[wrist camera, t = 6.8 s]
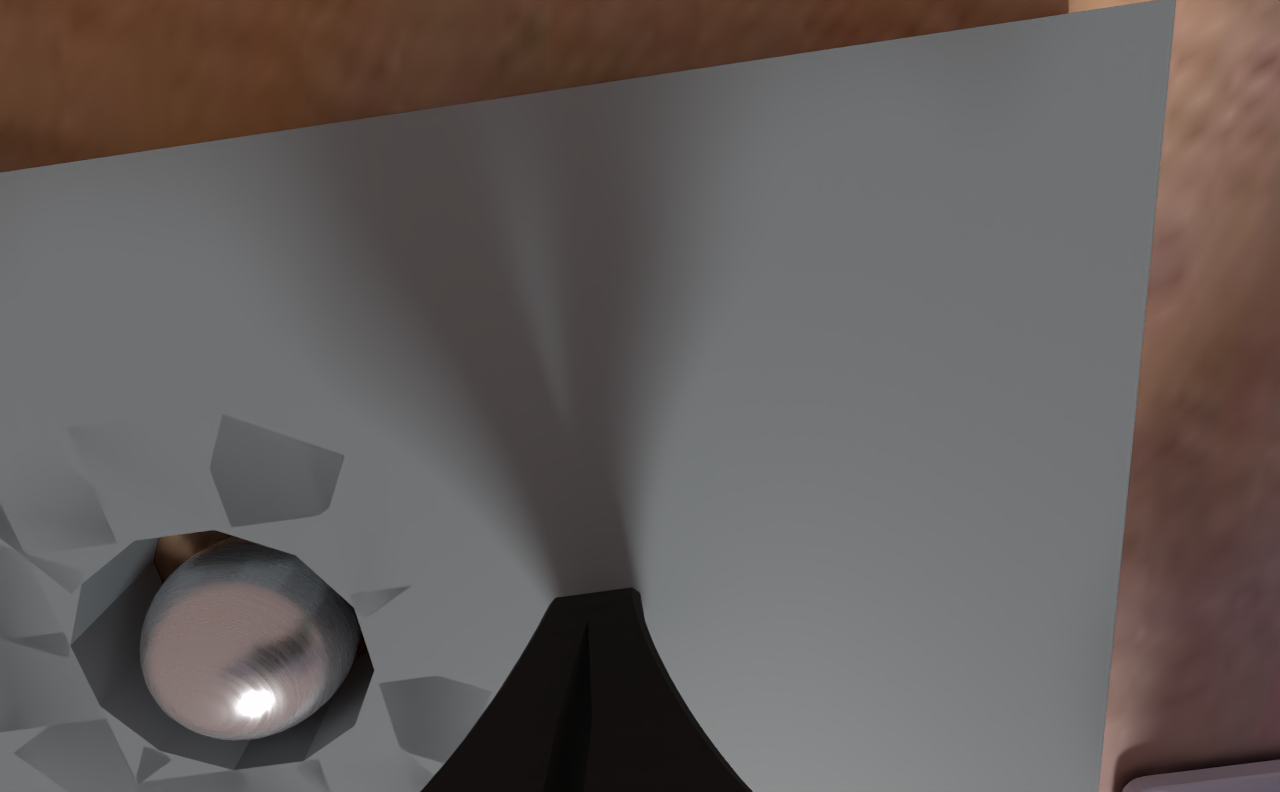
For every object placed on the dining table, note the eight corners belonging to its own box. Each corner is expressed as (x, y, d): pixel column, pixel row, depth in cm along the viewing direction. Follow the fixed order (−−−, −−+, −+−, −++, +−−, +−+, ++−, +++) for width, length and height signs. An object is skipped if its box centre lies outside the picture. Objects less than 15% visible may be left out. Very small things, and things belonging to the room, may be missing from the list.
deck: (1070, 15, 12) (1175, -3, 10) (1028, 780, 18) (1089, 883, 16) (-166, 199, 13) (-341, 223, 10) (178, 886, 19) (114, 1000, 16)
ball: (59, 625, 12) (188, 492, 15) (126, 783, 13) (230, 632, 16) (293, 632, 12) (373, 497, 15) (333, 790, 13) (397, 637, 16)
